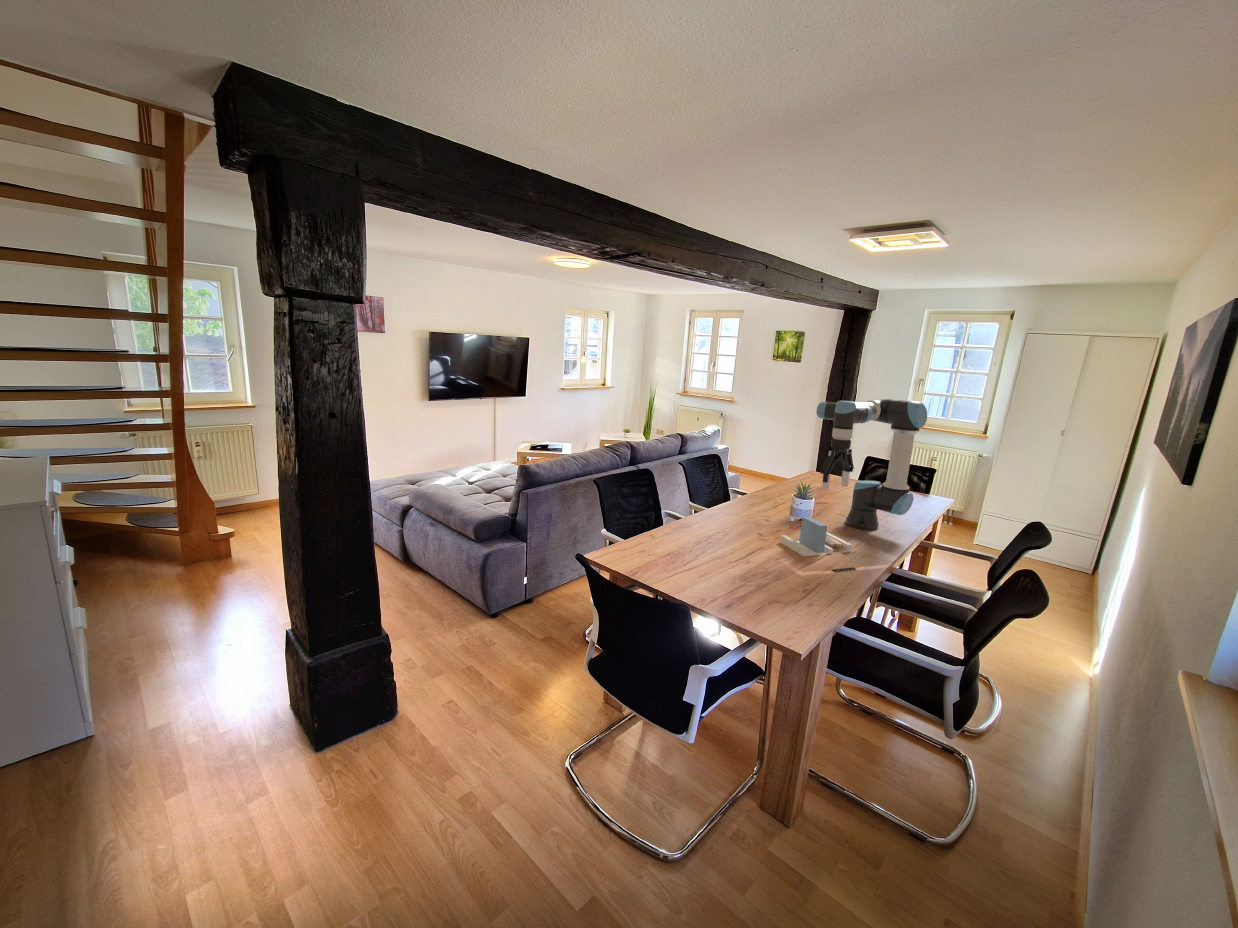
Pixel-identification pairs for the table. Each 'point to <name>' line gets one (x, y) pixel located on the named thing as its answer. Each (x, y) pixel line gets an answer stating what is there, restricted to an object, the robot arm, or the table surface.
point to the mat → (844, 570)
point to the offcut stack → (834, 544)
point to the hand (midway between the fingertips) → (834, 488)
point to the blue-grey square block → (813, 534)
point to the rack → (808, 552)
